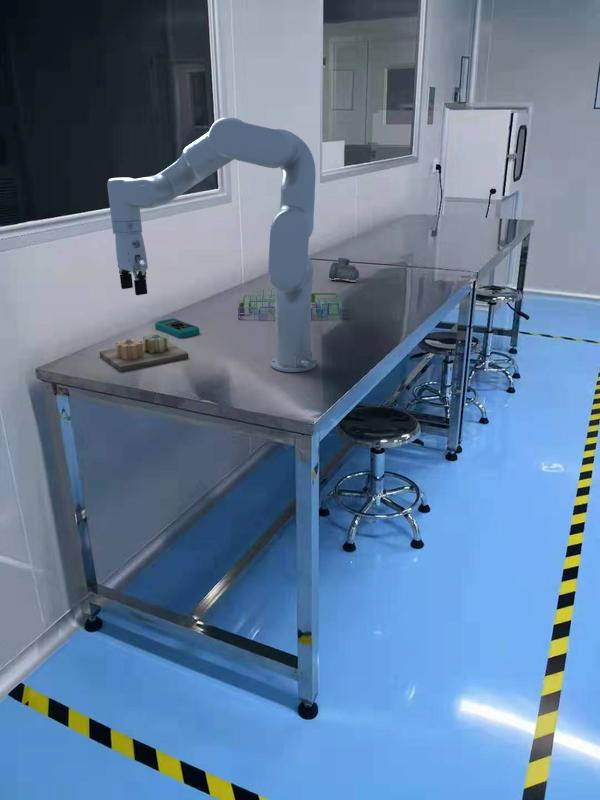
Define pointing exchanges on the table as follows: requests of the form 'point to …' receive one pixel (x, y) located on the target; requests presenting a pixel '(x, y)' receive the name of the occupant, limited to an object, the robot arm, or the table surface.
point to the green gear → (156, 343)
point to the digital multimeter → (177, 328)
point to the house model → (242, 309)
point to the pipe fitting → (343, 270)
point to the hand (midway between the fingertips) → (134, 291)
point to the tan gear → (129, 349)
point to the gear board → (143, 357)
